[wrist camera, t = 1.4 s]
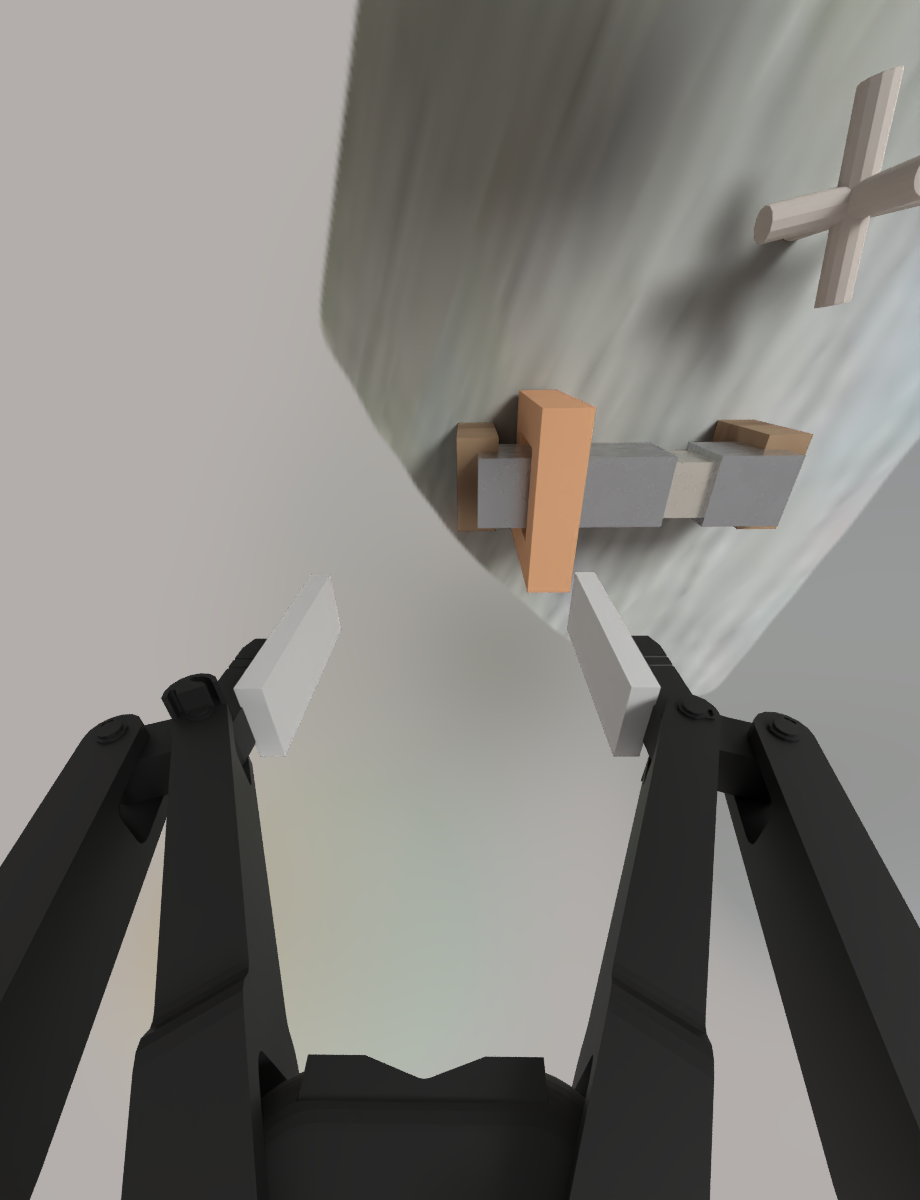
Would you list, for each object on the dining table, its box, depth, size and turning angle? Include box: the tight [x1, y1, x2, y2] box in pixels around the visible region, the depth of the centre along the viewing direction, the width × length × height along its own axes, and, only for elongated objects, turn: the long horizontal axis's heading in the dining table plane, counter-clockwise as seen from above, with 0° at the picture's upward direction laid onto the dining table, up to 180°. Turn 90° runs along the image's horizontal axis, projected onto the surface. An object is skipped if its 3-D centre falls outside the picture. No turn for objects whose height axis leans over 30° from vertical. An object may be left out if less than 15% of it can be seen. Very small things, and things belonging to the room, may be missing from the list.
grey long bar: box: [477, 442, 806, 528], centre depth 32 cm, size 5×22×5 cm, turn 91°
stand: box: [457, 420, 813, 531], centre depth 34 cm, size 7×25×7 cm, turn 91°
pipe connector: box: [754, 66, 920, 308], centre depth 24 cm, size 10×10×10 cm
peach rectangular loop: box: [512, 390, 596, 592], centre depth 32 cm, size 12×3×12 cm, turn 1°
